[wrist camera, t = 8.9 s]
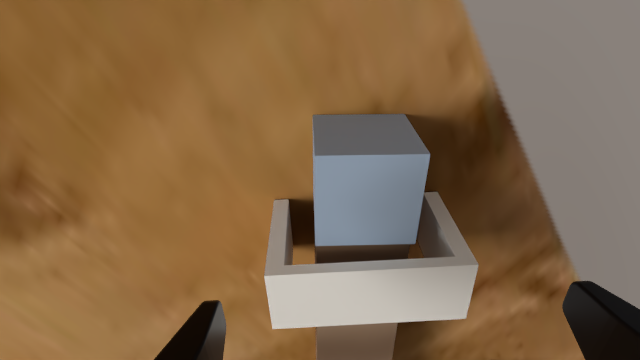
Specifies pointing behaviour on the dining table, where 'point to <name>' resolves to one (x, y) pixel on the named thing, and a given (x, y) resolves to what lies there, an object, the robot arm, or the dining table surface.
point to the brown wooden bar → (363, 339)
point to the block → (367, 179)
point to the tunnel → (372, 278)
